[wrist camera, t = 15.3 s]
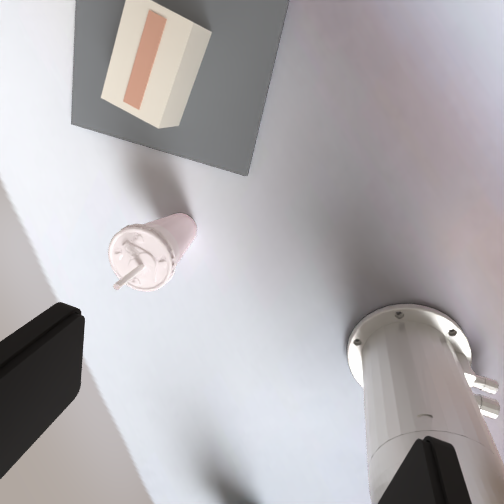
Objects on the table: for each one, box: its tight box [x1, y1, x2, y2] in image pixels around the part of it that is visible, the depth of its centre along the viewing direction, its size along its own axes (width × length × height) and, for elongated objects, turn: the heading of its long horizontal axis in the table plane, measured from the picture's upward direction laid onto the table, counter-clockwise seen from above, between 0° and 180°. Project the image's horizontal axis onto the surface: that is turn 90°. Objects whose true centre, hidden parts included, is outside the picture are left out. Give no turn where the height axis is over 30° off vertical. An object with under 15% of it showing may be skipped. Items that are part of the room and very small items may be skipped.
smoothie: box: [108, 213, 197, 292], centre depth 36 cm, size 6×6×14 cm
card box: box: [101, 0, 212, 129], centre depth 34 cm, size 9×6×5 cm, turn 154°
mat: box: [71, 0, 289, 176], centre depth 37 cm, size 20×16×1 cm
